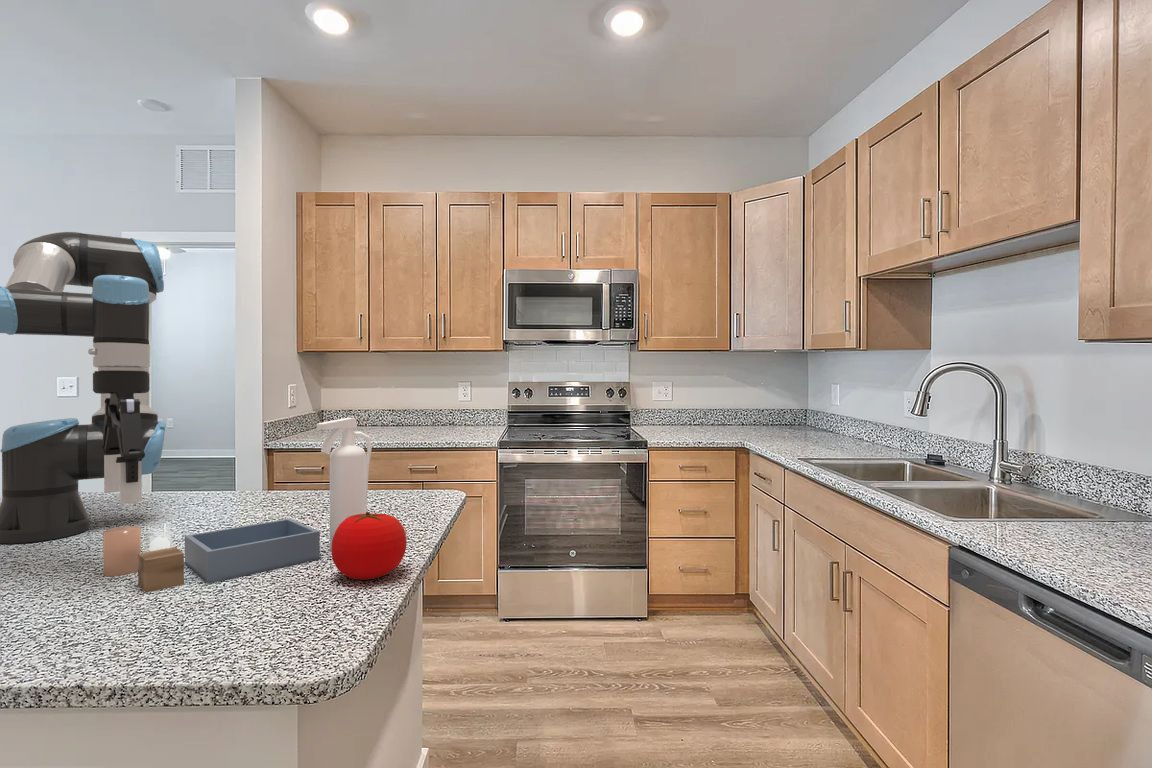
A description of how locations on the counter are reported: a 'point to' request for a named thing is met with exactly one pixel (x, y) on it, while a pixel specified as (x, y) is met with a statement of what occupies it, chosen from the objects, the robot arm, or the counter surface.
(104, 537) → the peach rounded cylinder
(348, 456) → the white spray bottle
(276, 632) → the counter surface
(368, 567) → the tomato
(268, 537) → the tote
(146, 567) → the walnut cube
